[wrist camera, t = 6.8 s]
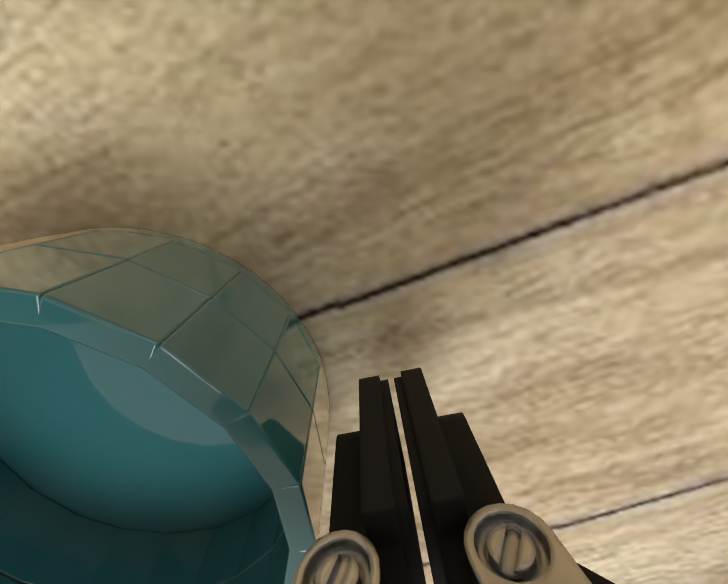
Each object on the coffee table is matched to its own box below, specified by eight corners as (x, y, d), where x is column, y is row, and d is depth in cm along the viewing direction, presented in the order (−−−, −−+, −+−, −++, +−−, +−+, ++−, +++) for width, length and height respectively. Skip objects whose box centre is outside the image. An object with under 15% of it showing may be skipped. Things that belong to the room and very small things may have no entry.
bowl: (-72, 192, 9) (-501, 214, 5) (355, 264, 10) (359, 340, 6) (-6, 511, 13) (-208, 704, 8) (306, 540, 14) (283, 727, 9)
